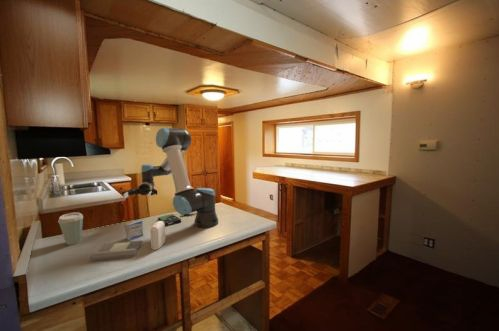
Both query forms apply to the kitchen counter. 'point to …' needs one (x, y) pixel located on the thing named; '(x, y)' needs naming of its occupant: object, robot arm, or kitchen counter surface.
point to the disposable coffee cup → (71, 227)
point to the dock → (116, 250)
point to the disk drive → (169, 219)
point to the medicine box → (133, 229)
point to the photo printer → (157, 235)
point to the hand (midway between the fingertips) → (136, 196)
